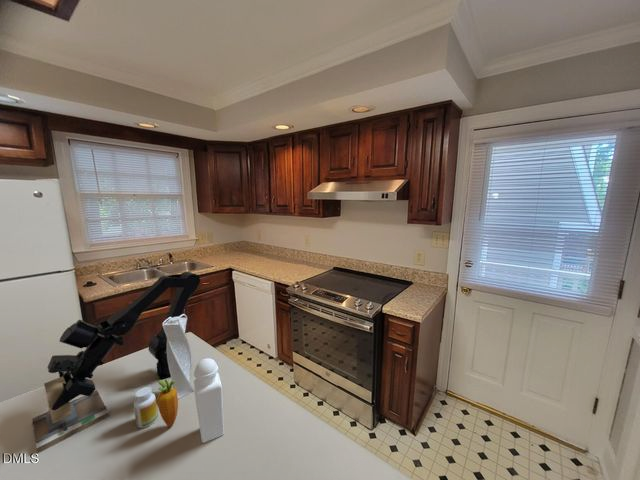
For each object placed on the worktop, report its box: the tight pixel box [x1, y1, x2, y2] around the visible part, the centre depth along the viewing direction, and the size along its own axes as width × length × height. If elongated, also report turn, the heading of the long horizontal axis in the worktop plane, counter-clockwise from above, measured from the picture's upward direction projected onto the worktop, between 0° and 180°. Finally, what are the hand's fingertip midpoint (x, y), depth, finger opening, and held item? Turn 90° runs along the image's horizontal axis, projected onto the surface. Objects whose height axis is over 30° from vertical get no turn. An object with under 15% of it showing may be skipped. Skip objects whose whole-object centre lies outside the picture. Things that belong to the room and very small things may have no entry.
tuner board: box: [31, 389, 110, 454], centre depth 79 cm, size 15×15×2 cm
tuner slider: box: [43, 376, 78, 433], centre depth 76 cm, size 6×12×12 cm, turn 50°
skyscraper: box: [162, 313, 195, 400], centre depth 88 cm, size 8×8×28 cm
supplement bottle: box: [133, 386, 159, 429], centre depth 78 cm, size 5×5×10 cm
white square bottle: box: [193, 357, 225, 444], centre depth 73 cm, size 6×6×22 cm
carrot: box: [156, 378, 179, 428], centre depth 75 cm, size 5×5×15 cm
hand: (52, 406), depth 76 cm, fingers closed on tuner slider, 4 cm apart
